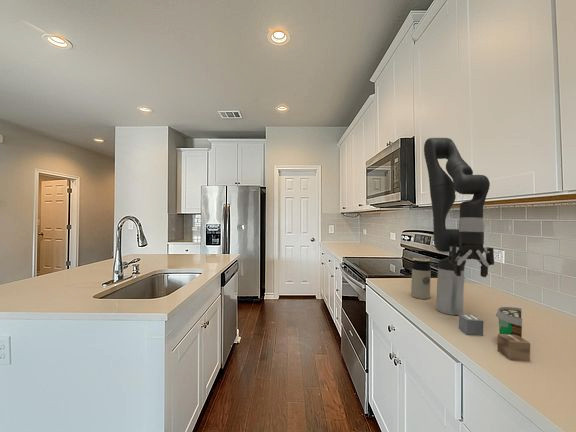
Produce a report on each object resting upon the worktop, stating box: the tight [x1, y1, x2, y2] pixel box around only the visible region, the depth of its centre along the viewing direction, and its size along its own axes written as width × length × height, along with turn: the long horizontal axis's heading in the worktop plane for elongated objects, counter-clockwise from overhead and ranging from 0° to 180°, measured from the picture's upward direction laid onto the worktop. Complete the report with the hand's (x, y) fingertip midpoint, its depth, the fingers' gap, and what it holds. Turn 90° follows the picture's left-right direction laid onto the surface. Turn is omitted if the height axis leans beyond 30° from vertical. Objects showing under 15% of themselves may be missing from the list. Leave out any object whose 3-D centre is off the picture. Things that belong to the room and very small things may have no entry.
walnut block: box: [497, 333, 531, 362], centre depth 77 cm, size 5×5×5 cm
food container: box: [495, 306, 523, 338], centre depth 85 cm, size 12×6×10 cm, turn 141°
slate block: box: [458, 314, 484, 337], centre depth 92 cm, size 5×5×5 cm
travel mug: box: [410, 257, 432, 300], centre depth 131 cm, size 8×8×18 cm
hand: (470, 276), depth 98 cm, fingers open, 8 cm apart
